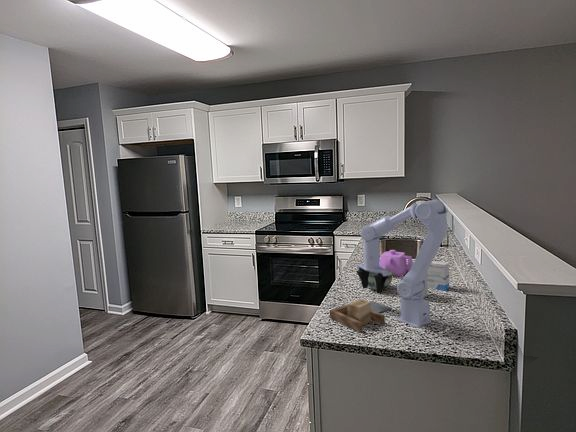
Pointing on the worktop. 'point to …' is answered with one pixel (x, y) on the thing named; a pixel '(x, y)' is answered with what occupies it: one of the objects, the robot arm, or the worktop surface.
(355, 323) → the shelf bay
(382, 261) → the teakettle
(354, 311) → the gripped blank
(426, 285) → the small box
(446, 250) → the worktop surface
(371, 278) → the bowl
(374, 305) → the mat
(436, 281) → the ink box
